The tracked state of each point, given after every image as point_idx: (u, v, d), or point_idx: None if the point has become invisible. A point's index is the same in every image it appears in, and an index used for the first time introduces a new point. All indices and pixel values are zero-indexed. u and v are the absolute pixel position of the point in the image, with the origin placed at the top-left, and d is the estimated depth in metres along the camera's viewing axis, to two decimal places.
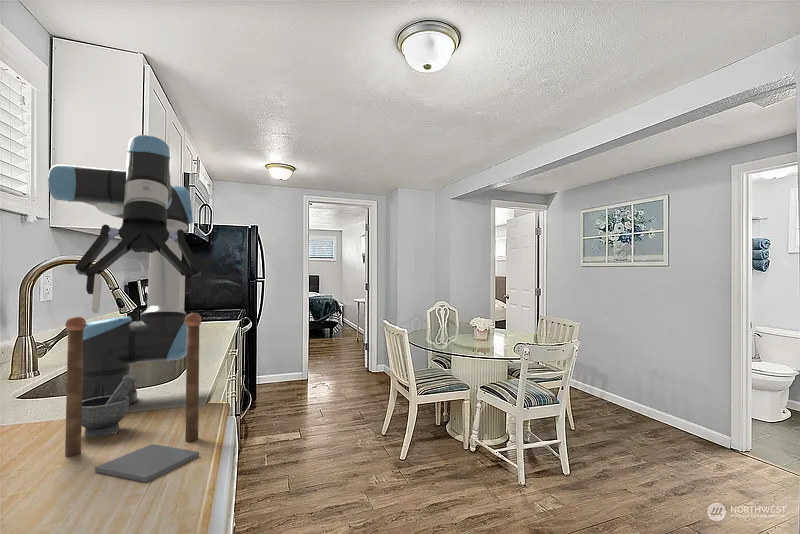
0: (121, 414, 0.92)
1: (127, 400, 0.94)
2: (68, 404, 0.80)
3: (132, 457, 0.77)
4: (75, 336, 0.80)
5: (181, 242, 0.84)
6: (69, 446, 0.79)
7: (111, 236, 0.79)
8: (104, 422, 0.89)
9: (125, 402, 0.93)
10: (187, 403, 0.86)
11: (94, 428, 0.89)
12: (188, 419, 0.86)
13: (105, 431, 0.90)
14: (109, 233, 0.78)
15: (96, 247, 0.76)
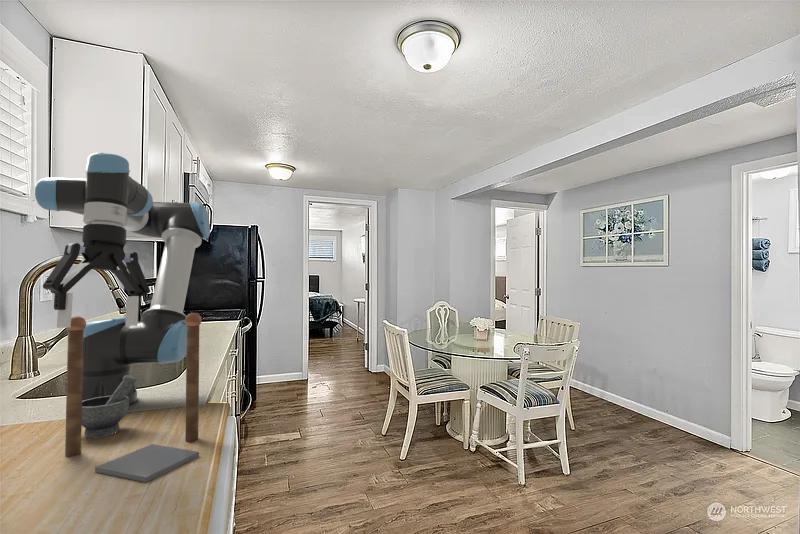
0: (121, 414, 0.92)
1: (127, 400, 0.94)
2: (68, 404, 0.80)
3: (132, 457, 0.77)
4: (75, 336, 0.80)
5: (135, 264, 0.93)
6: (69, 446, 0.79)
7: (78, 254, 0.83)
8: (104, 422, 0.89)
9: (125, 402, 0.93)
10: (187, 403, 0.86)
11: (94, 428, 0.89)
12: (188, 419, 0.86)
13: (105, 431, 0.90)
14: (80, 252, 0.82)
15: (69, 266, 0.80)
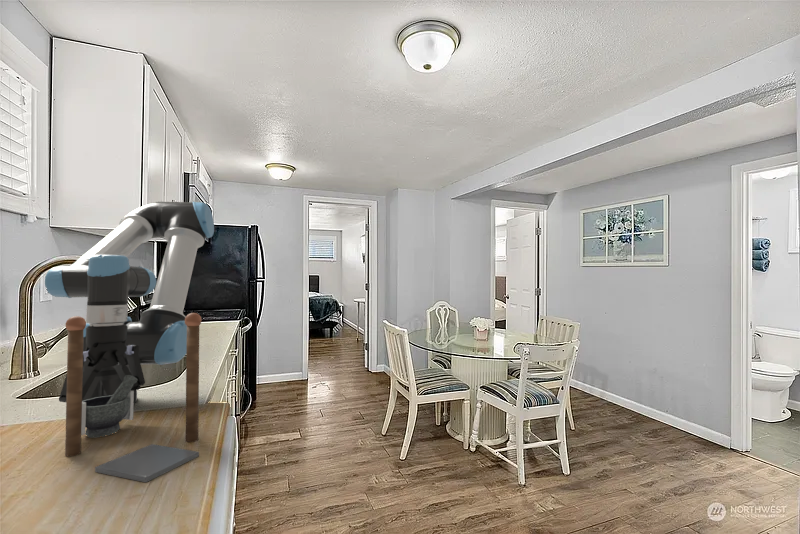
0: (122, 414, 0.92)
1: (128, 400, 0.94)
2: (68, 404, 0.80)
3: (132, 457, 0.77)
4: (75, 336, 0.80)
5: (135, 357, 0.98)
6: (69, 446, 0.79)
7: (83, 361, 0.88)
8: (105, 421, 0.89)
9: (126, 402, 0.93)
10: (187, 403, 0.86)
11: (95, 428, 0.89)
12: (188, 419, 0.86)
13: (106, 430, 0.90)
14: (84, 360, 0.87)
15: None
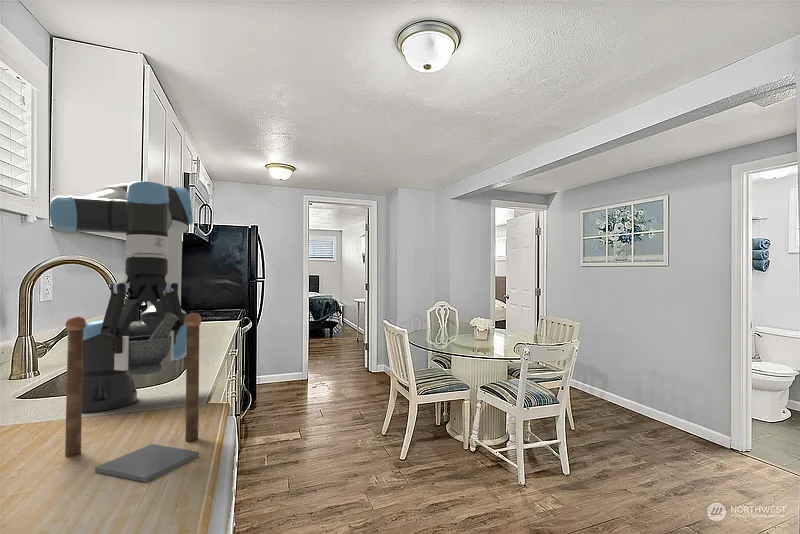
0: (165, 351, 0.86)
1: (170, 338, 0.88)
2: (68, 404, 0.80)
3: (132, 457, 0.77)
4: (75, 336, 0.80)
5: (175, 296, 0.92)
6: (69, 446, 0.79)
7: None
8: (148, 357, 0.83)
9: (168, 339, 0.87)
10: (187, 403, 0.86)
11: (137, 365, 0.83)
12: (188, 419, 0.86)
13: (148, 368, 0.84)
14: (126, 291, 0.81)
15: (120, 308, 0.80)
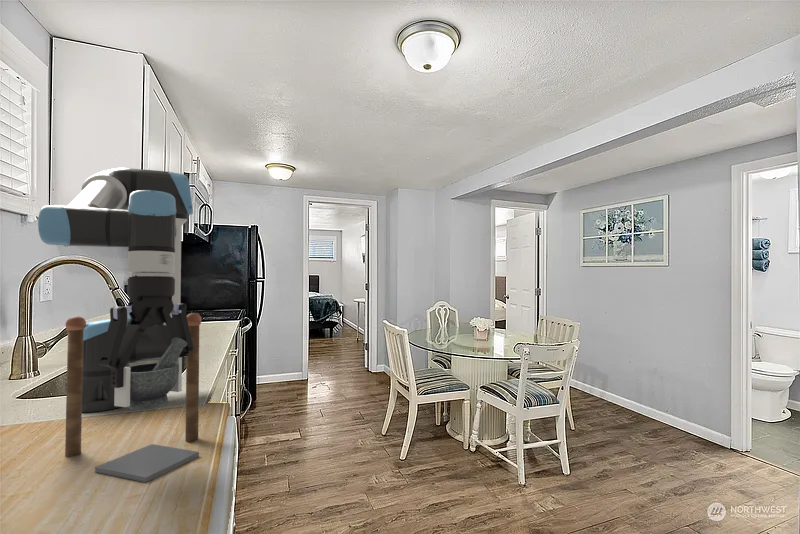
0: (172, 383, 0.76)
1: (177, 367, 0.78)
2: (68, 404, 0.80)
3: (132, 457, 0.77)
4: (75, 336, 0.80)
5: (183, 318, 0.82)
6: (69, 446, 0.79)
7: (126, 317, 0.72)
8: (153, 391, 0.73)
9: (175, 369, 0.77)
10: (187, 403, 0.86)
11: (141, 399, 0.73)
12: (188, 419, 0.86)
13: (153, 402, 0.74)
14: (128, 316, 0.71)
15: (121, 335, 0.70)
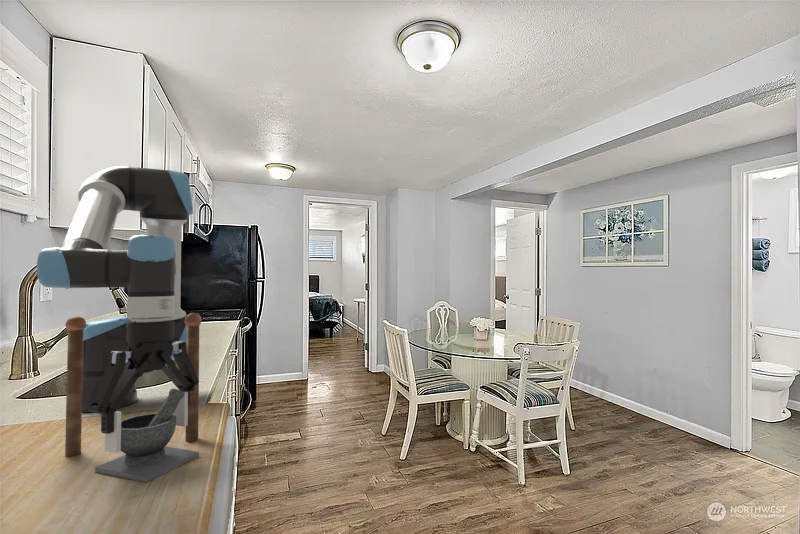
0: (169, 436, 0.75)
1: (175, 419, 0.78)
2: (68, 404, 0.80)
3: None
4: (75, 336, 0.80)
5: (184, 356, 0.82)
6: (69, 446, 0.79)
7: (124, 362, 0.71)
8: (150, 447, 0.73)
9: (173, 422, 0.76)
10: None
11: (138, 455, 0.73)
12: (188, 419, 0.86)
13: (150, 458, 0.74)
14: (126, 361, 0.71)
15: (115, 381, 0.69)
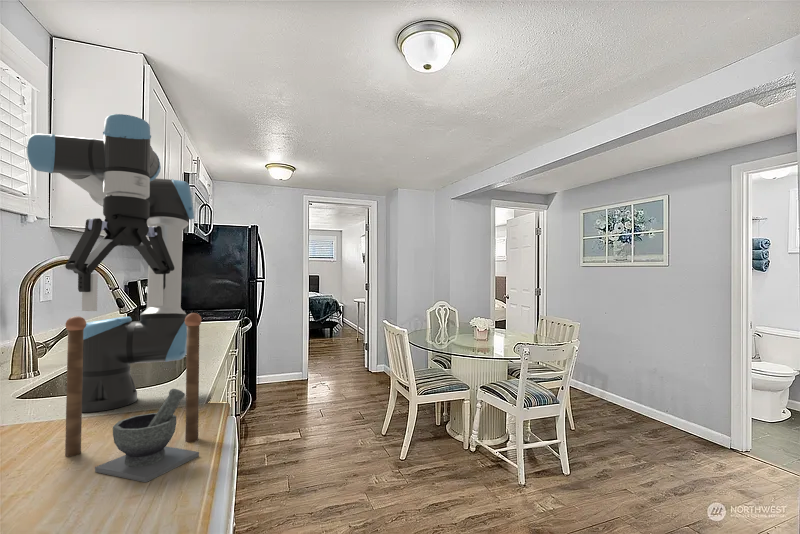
0: (169, 437, 0.75)
1: (175, 419, 0.78)
2: (68, 404, 0.80)
3: None
4: (75, 336, 0.80)
5: (159, 240, 0.86)
6: (69, 446, 0.79)
7: (100, 230, 0.75)
8: (150, 447, 0.73)
9: (173, 422, 0.76)
10: (187, 403, 0.86)
11: (138, 455, 0.73)
12: (188, 419, 0.86)
13: (150, 458, 0.74)
14: (102, 228, 0.75)
15: (92, 244, 0.73)
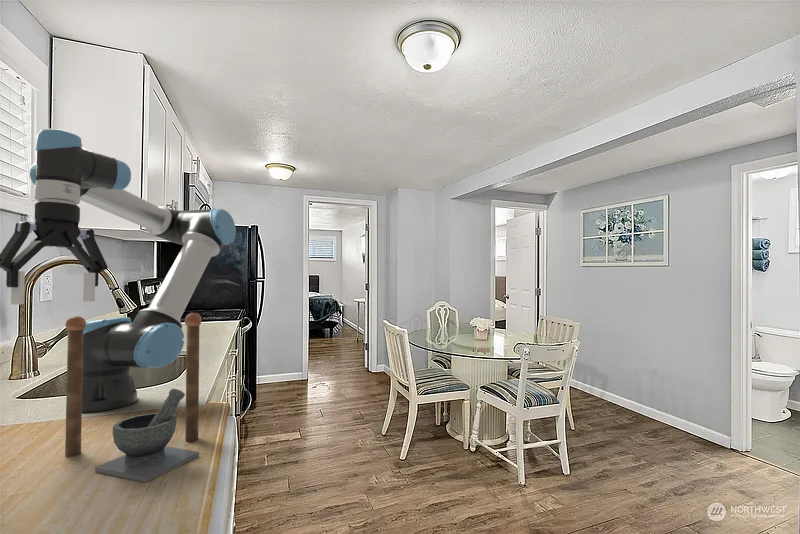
0: (169, 437, 0.75)
1: (175, 419, 0.78)
2: (68, 404, 0.80)
3: None
4: (75, 336, 0.80)
5: (92, 241, 0.95)
6: (69, 446, 0.79)
7: (29, 232, 0.84)
8: (150, 447, 0.73)
9: (173, 422, 0.76)
10: (187, 403, 0.86)
11: (138, 455, 0.73)
12: (188, 419, 0.86)
13: (150, 458, 0.74)
14: (30, 230, 0.84)
15: (19, 244, 0.82)
